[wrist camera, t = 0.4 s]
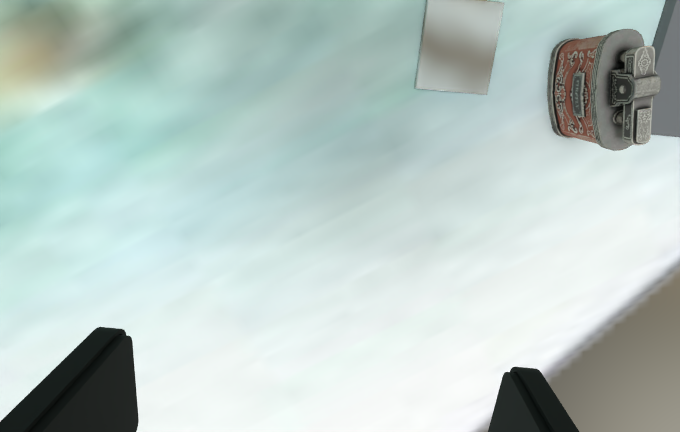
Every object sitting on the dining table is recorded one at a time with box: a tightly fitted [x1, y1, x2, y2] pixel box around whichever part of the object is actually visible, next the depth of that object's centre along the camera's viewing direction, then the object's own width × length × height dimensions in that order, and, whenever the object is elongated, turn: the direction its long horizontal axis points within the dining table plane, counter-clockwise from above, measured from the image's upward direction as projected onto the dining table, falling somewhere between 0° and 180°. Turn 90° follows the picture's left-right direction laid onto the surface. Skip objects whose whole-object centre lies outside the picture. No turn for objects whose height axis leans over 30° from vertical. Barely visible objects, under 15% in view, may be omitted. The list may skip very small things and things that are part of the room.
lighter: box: [547, 29, 661, 150], centre depth 30 cm, size 8×3×10 cm, turn 10°
